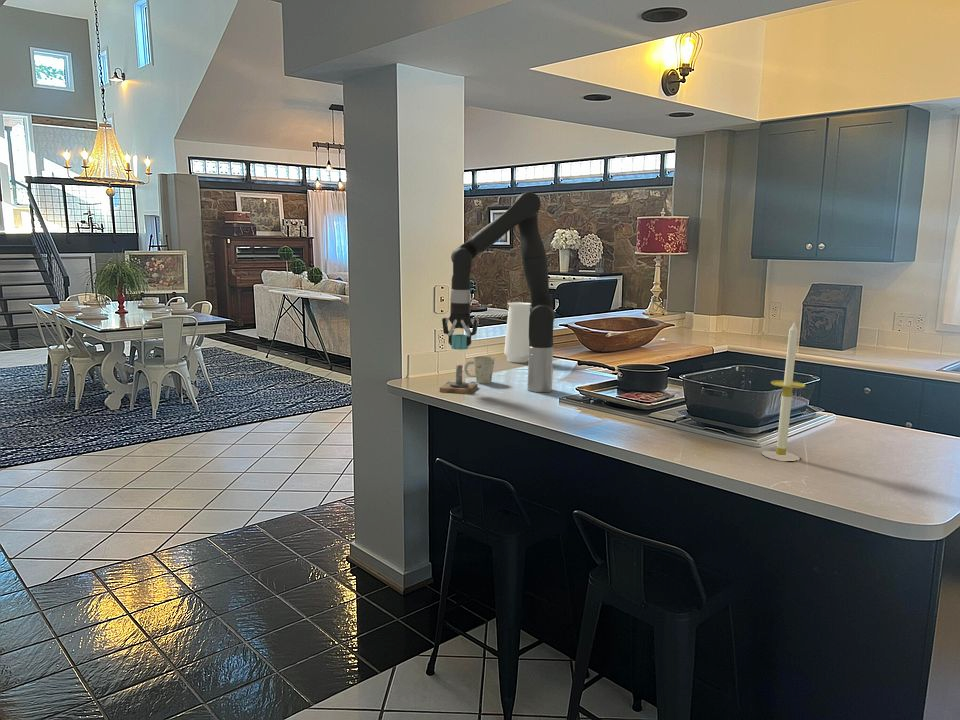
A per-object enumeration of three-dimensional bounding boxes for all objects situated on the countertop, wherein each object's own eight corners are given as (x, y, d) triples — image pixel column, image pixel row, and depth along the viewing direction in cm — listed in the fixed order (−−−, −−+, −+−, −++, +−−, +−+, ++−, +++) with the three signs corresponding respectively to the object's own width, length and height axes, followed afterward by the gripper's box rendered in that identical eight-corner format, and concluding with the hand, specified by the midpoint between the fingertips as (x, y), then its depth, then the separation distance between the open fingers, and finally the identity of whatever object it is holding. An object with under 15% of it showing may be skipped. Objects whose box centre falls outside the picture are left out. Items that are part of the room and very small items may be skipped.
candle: (771, 448, 191) (784, 317, 185) (807, 457, 184) (821, 320, 177) (754, 455, 184) (767, 319, 178) (790, 464, 177) (805, 323, 171)
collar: (469, 347, 259) (469, 334, 258) (465, 350, 253) (465, 336, 252) (454, 346, 260) (454, 334, 259) (450, 349, 254) (450, 336, 253)
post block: (477, 387, 264) (478, 363, 262) (470, 393, 252) (470, 369, 250) (447, 385, 266) (448, 361, 265) (439, 391, 255) (439, 367, 253)
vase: (518, 357, 335) (520, 301, 330) (536, 361, 325) (538, 303, 321) (498, 360, 327) (500, 302, 322) (516, 364, 317) (518, 304, 312)
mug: (491, 384, 269) (492, 360, 268) (461, 382, 272) (461, 358, 270) (495, 380, 277) (496, 356, 276) (465, 378, 280) (466, 355, 278)
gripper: (481, 301, 255) (480, 345, 258) (444, 300, 258) (444, 343, 261) (476, 303, 248) (475, 348, 251) (439, 301, 251) (438, 345, 254)
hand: (459, 345), depth 256 cm, fingers closed on collar, 6 cm apart
